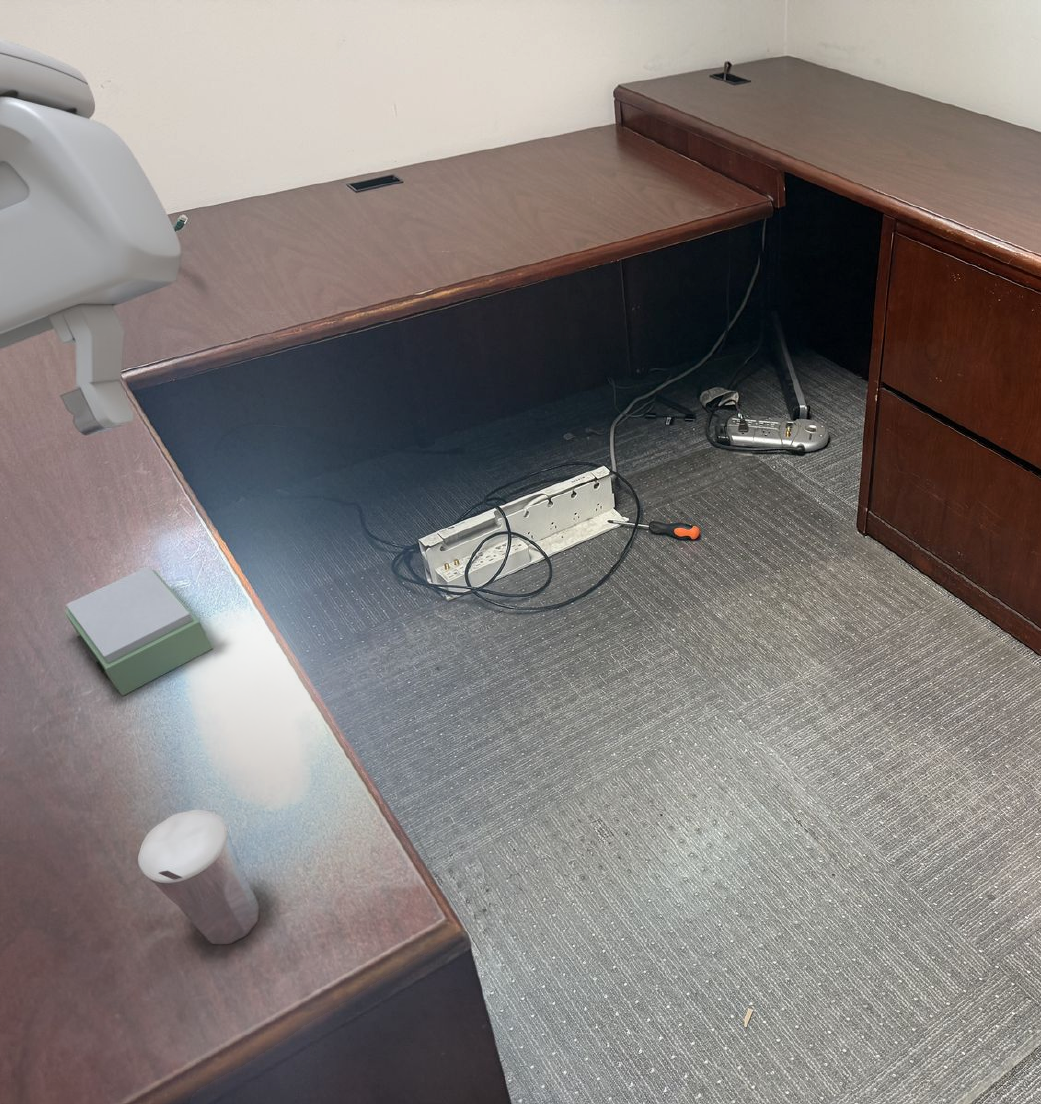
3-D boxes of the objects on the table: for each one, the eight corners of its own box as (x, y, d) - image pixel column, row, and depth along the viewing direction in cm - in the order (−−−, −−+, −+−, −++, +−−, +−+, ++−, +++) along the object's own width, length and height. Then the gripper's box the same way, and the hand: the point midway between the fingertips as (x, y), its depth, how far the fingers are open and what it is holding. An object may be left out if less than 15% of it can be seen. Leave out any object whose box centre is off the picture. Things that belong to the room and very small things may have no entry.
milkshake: (186, 977, 59) (115, 883, 53) (196, 898, 63) (131, 801, 56) (267, 956, 60) (207, 860, 53) (273, 879, 64) (217, 782, 57)
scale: (119, 698, 76) (97, 663, 74) (77, 639, 81) (56, 605, 78) (213, 648, 80) (195, 613, 77) (167, 595, 85) (150, 561, 82)
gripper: (-475, 217, 37) (-273, 560, 40) (3, 14, 35) (180, 392, 38) (-299, 230, 43) (-135, 527, 46) (117, 57, 41) (262, 381, 44)
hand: (11, 465), depth 42 cm, fingers open, 8 cm apart
